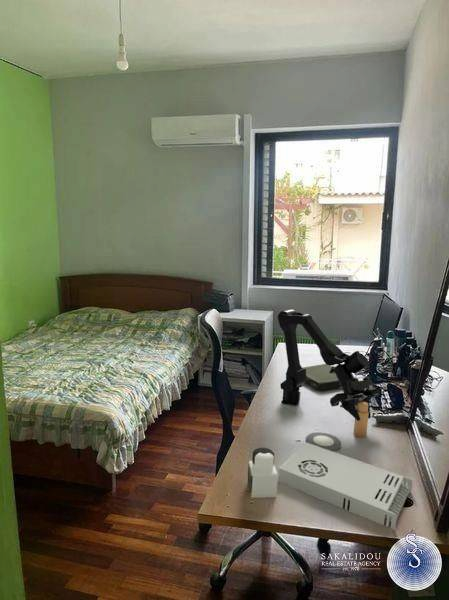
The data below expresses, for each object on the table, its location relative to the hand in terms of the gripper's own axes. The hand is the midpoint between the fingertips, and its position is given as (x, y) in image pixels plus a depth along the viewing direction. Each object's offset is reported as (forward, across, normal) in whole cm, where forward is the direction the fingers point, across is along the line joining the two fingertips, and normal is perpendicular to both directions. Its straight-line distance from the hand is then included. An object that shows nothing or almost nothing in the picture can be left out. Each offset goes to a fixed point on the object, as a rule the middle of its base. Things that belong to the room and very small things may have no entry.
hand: (364, 419), depth 152 cm
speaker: (-12, +18, +21) cm, 30 cm away
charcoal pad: (+4, -16, +6) cm, 18 cm away
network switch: (-30, +20, +40) cm, 54 cm away
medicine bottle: (+14, -50, -5) cm, 52 cm away
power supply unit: (+20, -27, -10) cm, 35 cm away
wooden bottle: (+4, 0, +6) cm, 7 cm away
